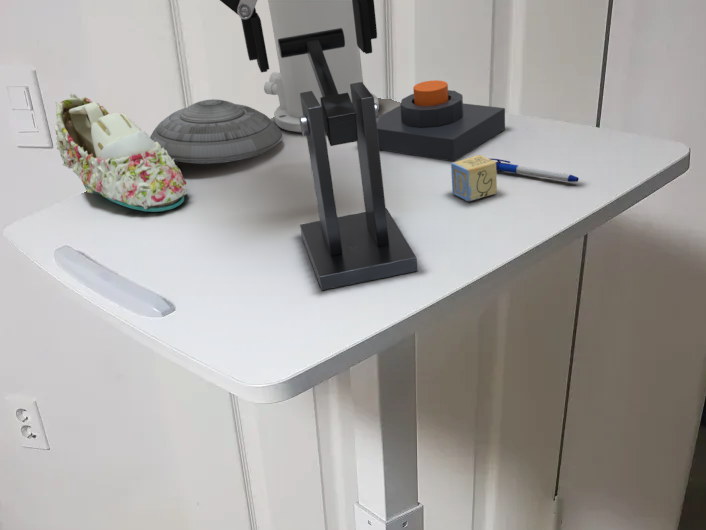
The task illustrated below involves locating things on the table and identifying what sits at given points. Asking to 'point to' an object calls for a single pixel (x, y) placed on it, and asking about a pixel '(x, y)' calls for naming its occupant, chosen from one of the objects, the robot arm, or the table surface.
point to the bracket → (356, 229)
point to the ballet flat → (116, 157)
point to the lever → (325, 82)
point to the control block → (438, 127)
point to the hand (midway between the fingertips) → (314, 58)
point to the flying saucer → (216, 133)
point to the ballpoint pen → (533, 171)
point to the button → (430, 93)
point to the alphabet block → (474, 178)
